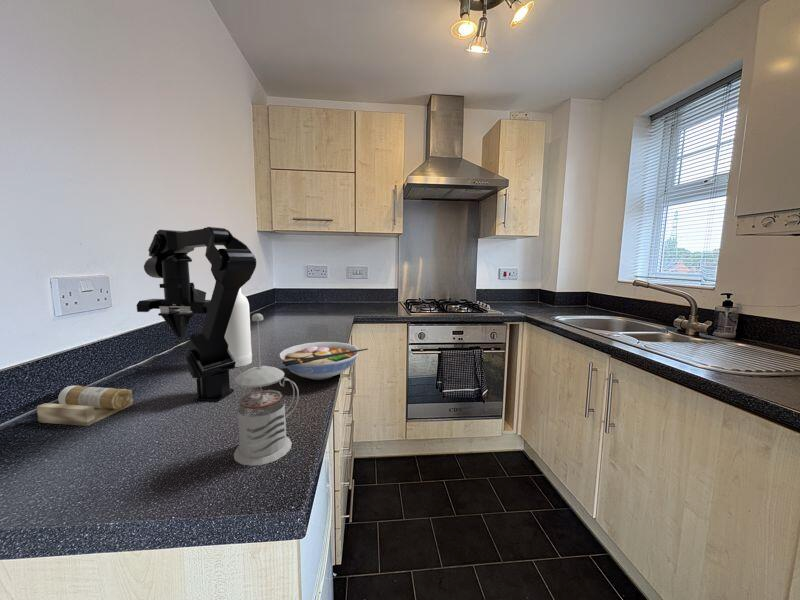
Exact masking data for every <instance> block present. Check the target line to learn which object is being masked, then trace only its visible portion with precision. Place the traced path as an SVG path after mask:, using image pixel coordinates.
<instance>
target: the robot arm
mask: <svg viewBox="0 0 800 600" xmlns="http://www.w3.org/2000/svg"><path fill="white" fill-rule="evenodd" d="M216 246H222V247H224V248H219V249H217V247H216ZM202 247H206V248H205V249H206V250H205V255H204V256H205V257H206V259H207V260H208V262H209V264H210V266H211V267H210V272H211V274H212V276H213V278H214V280H215V284H214V288H213V291H212V294H211V299H206V298H207V291H203V290H202V289H197V288H196V287H195V283H194V282H191V279H190V277H191V276H190V265H189V263H193V259H192V257H190V256H188V254H189V253H191V252H194V250H195V249H196V248H202ZM148 252H149V253H148V256H149V257H150V258H148V259H147V260H146V261H145V262H144V264H143V270H144V272H145V273H146V274H147V276H149V277H150V278H151V277H152V278H156V279H162V281H163V282H162V283H159V288H160V289H163V293H164V295H163V296H164V298H149V299H142V300H139V301H138V302H137V304H136V312H137V313H149V312H150V311H152V310H159V311H160V312H159V313H158V314H157V315H158V316H159V317H160V316H161V317H162V319H163V320H164V321H165V322H166V323H167V324H168V326H169V327H170V328H171V330H172V331H173V333H174V334H175V335H176V337H177V339H183V338H185V335H186V332H187V330H188V326H189V323H190V322H191V319H192V317H193V316H194V315H195V314H206V316H205V320H204V323H203V326H202V331H200V332H198V333H192V334H191V335H190V336H189V340H188V344H187V346H186V348H187V351H186V354H185V360H186V364H187V367H188V371H189V374H190V376H191V378H192V379H196V391H197V392H196V394H197V395H196V396H195V397H193V400H195V401H208V402H209V401H210V402H219V401H221V400H223V399H224V398H225V397H227V396H228V395H231V394H232V393H234V391H235V389H234V388H231V384H230V370H233V369H235V368H236V367H235V363H236V361H235V360H234V358H233V356H232V355H231V353H230V351H229V350H228V346H229V345H228V343H227V341H226V339H225V333H226V330H227V327H228V324H229V320H230V317H231V314H232V311H233V308H234V305H235V301H236V298H237V295H238V292H239V289H240V288H241V289H242V287H243V286H244V285H245V284H246V283H248V282H249V281H251V278H252V276H253V274H254V272H255V271H256V267H257V259H256V258H257V257H256V256H255V255H254V253H253V252H252V251H251V249H250V248H249V247H248V246H247V245H246V244H245V243H244V242H242V241H241V240H239V239H238V238H236V237H235V236H234V235H233V234H232V233H231V232H230V231H229V230H228V229H227V228H224V227H214V226H207V227H204V228H199V229H192V230H187V231H184V230H173V229H172V230H171V229H158V230H157V231H156V233H155V234H154V236H153V238H152V240H151V243H150V246H149V247H148ZM210 365H211V366H210Z"/></svg>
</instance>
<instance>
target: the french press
mask: <svg viewBox="0 0 800 600" xmlns="http://www.w3.org/2000/svg"><path fill="white" fill-rule="evenodd" d="M263 320H264V316H263V314H261V313H254V314H253V315H252V316H251V321H252V322H257V323H256V324H257V343H258V360H259V361H258V364H259V366H254V367H251V368H249V369H246V370H245V371H243V372H241V373H240V374H238V375H237V376H236V377H235V378H234V381H235V384H236V385H237V386H239V387H242V388H250V389H251V388H260V390H256V391H253V392H250V393H247V394H245V395H244V396H241V398H240V399H239V401H238V403H239V406H238V408H237V423H238V424H237V425H238V440H239V442H238V443H239V445H238V446H237V448H236V449H235V451H234V453H233V459H234V461H235V462H237V463H238V464H240V465H244V466H249V467H250V466H251V467H253V466H261V465H266V464H269V463H273V462H275V461H277V460H279V459H281V458H282V457H284V456H286V455H287V454H288V452H290V450H291V449H292V444H293V442H292V441H291V439H290V437H288V436H287V421H286V419H287V418H288V417H289V416H290V415H291V414H292V413H293V412H294V411H295V409H296V408H297V405H298V402H299V397H300V395H299V394H300V393H299V387H298V386H297V384H296V383H295V381H293V380H291V379H289V378H288V377H286V376H285V372H284V371H283V370H282V369H279V368H277V367H275V366H269V365H268V366H267V365H261V364H262V363H261V346H260V345H261V344H260V322H261V321H263ZM282 380H283V381H282ZM281 381H282V382H281ZM286 381H288V382H289V383H290V385H291V387H292V390H293V391H292V393H293V394H292V400H291V402H290V405H288V407H287V408H286V405H285V401H284V400H283V401H282V398H283V394H282V392H281V391H277V390H275V389H273V390H272V389H268V390H266V389H264V390H263V389H262V388H263V387H267V386H272V385H274V384H277V383H279V385H280V387H285V382H286ZM295 389H296V390H295ZM295 391H296V392H295ZM295 393H296V395H295ZM295 396H296V402H295V406H294V407H292V410H291V411H290V412H288V413H287V415H286V412H287V411H288V410H290V408H291V406H292V405H293V403H294V398H295ZM250 409H251V410H250ZM249 410H250V411H249ZM260 410H261V411H262V410H265V411H269V412H271V413H269V412H259V411H260ZM248 411H249V412H248ZM247 412H248V413H247ZM256 412H258V413H256ZM246 413H247V414H246ZM253 413H255V414H253ZM245 414H246V415H245ZM267 424H268V425H267ZM250 430H251V431H250Z"/></svg>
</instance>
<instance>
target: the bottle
mask: <svg viewBox="0 0 800 600" xmlns="http://www.w3.org/2000/svg"><path fill="white" fill-rule="evenodd" d="M250 317H251V313H250V303H249V300H248V298H247V297H246V296H245V295H244V294H243V293H242V287H241V288H240V289H239V292H238V295H237V298H236V301H235V305H234V308H233V311H232V314H231V317H230V320H229V324H228V327H227V330H226V333H225V339H226V341H227V343H228V345H229V346H228V350H229V351H230V353H231V355H232V356H233V358H234V360H235V361H236V363H235V368H240V367H241V368H242V367H246V366H249V365H250V364H251V363H252V362H253V352H252V335H251V334H252V333H251V318H250Z"/></svg>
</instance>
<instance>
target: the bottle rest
mask: <svg viewBox="0 0 800 600" xmlns="http://www.w3.org/2000/svg"><path fill="white" fill-rule="evenodd" d="M128 390H129V391H130V393H131V399H130V402H129V404H128V405H127V406H126V407H125V408H123V409H120V410H115V409H102V408H94V406H79V405H65V404H60V403H47V402H45V403H42V404H38V405H37V406H36V412H37V420H38V423H43V424H56V425H57V424H59V425H69V426H83V427H88V426H91V425H93V424H95V423H97V422H99V421H102V420H103V419H106V418H108V417H110V416H112V415H115V414H116V413H118V412H119V411H122V410H124V409H126V408H129V407H130V406H133V405H134V400H133V397H134V396H133V390H132V389H128Z"/></svg>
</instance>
